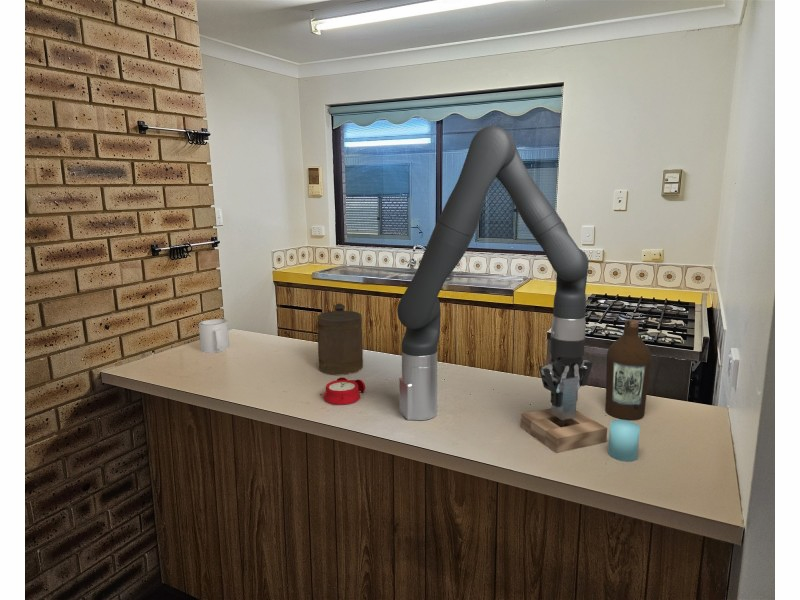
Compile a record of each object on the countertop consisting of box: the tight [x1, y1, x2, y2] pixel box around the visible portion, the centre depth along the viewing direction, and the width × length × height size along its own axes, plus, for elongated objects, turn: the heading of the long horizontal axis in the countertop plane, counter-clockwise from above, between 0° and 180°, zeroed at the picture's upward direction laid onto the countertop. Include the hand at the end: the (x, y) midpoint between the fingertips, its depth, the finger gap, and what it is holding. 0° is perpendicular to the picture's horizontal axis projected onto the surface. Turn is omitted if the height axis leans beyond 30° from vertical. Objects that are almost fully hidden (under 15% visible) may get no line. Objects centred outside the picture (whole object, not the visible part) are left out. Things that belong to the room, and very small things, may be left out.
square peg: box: [550, 375, 579, 420], centre depth 121 cm, size 4×4×10 cm
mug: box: [198, 318, 230, 354], centre depth 192 cm, size 14×10×11 cm
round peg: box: [607, 419, 641, 463], centre depth 112 cm, size 6×6×7 cm
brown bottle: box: [604, 318, 653, 421], centre depth 132 cm, size 11×11×25 cm
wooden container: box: [317, 303, 364, 375], centre depth 170 cm, size 15×15×22 cm
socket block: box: [520, 408, 608, 454], centre depth 122 cm, size 14×14×4 cm
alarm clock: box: [319, 376, 366, 406], centre depth 147 cm, size 10×6×15 cm
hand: (563, 404), depth 121 cm, fingers closed on square peg, 4 cm apart
